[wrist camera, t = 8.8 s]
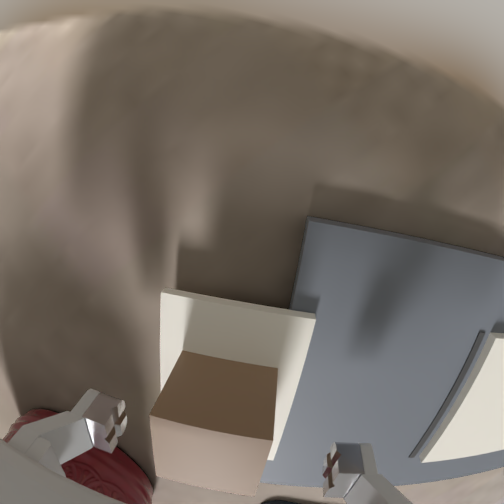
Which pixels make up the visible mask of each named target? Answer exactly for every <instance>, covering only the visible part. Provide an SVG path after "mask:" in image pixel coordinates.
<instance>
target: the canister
mask: <svg viewBox="0 0 504 504" xmlns="http://www.w3.org/2000/svg"><path fill="white" fill-rule="evenodd" d="M56 414H59V413H57V412H53V411H50V410H45V409H32V410H30V411H28V412H27V413H26V414H25V415H23V416H21V417H19V418H18V419H17V420H16V421H15V423H13V424H12V425H11V427H10V429H9V432H8V433H7V435H6V436H5V437H4V438H3V439H2V440H3V441H5V442H6V443H8V442H9V441H10V440H11V439H12V437H13V436H14V435H15V434H16V433H17V432H18V430H19V429H20V428H21V427H22V426H23V425H26V424H29V423H32V422H35V421H38V420H41V419H44V418H47V417H50V416H53V415H56ZM61 467H62V469H63V471H64V473H65V475H66V478H68V479H70V480H72V481H74V482H76V483H78V484H81V485H83V486H85V487H87V488H89V489H92V490H94V491H96V492H98V493H101V494H103V495H106V496H108V497H111V498H113V499H116V500H118V501H121V502H123V503H126V504H152V495H153V488H152V485H151V482H150V481H149V479H148V477H147V476H146V474H145V473H144V472H143V471H142V470H141V468H140V467H139V466H138V465H137V464H136V463H135V462H134V461H133V460H132V459H131V458H130V457H128V456H127V455H126V454H125V453H124V452H123V451H121V450H120V449H119V448H118V447H116V446H115V448H114V450H113V452H112V453H109V452H106V451H104V450H101V449H98V448H96V447H93V448H91V449H89V450H87V451H86V452H84V453H82V454H80V455H78V456H76V457H74V458H73V459H71V460H69V461H67V462H65V463H63V464H61Z"/></svg>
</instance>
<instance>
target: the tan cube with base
mask: <svg viewBox="0 0 504 504" xmlns="http://www.w3.org/2000/svg"><path fill="white" fill-rule="evenodd" d="M315 322H316V316H315V314H314V313H308V312H301V311H295V310H288V309H282V308H276V307H270V306H264V305H258V304H252V303H246V302H240V301H235V300H229V299H224V298H218V297H213V296H208V295H202V294H197V293H192V292H187V291H182V290H177V289H172V288H167V287H165V288H164V289H163V290H162V291H161V303H160V383H161V393H160V395H159V397H158V399H157V401H156V403H155V405H154V407H153V408H152V410H151V412H150V414H149V418H150V429H151V438H152V447H153V456H154V464H155V471H156V476H158V477H162V478H165V479H169V480H173V481H176V482H180V483H184V484H188V485H193V486H197V487H202V488H206V489H211V490H216V491H222V492H227V493H233V494H239V495H246V496H253V497H255V494H256V491H257V488H258V485H259V482H260V479H261V476H262V474H263V471H264V468H265V465H266V462H267V460H272V461H273V460H274V457H275V454H276V452H277V449H278V446H279V443H280V440H281V437H282V434H283V431H284V428H285V425H286V422H287V419H288V416H289V412H290V409H291V406H292V403H293V400H294V396H295V393H296V390H297V386H298V383H299V380H300V376H301V373H302V369H303V366H304V362H305V359H306V355H307V352H308V348H309V345H310V341H311V337H312V333H313V330H314V326H315Z"/></svg>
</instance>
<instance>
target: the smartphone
mask: <svg viewBox="0 0 504 504" xmlns="http://www.w3.org/2000/svg"><path fill="white" fill-rule="evenodd" d="M262 504H299V503H293V502H288V501H282V500H272V501H267V502H264V503H262Z"/></svg>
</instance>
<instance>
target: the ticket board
mask: <svg viewBox="0 0 504 504" xmlns="http://www.w3.org/2000/svg"><path fill="white" fill-rule="evenodd" d="M289 310H295V311H301V312H308V313H314V314H315V316H316V322H315V326H314V330H313V333H312V337H311V341H310V345H309V348H308V352H307V355H306V359H305V362H304V366H303V369H302V373H301V376H300V380H299V383H298V386H297V390H296V393H295V396H294V400H293V403H292V406H291V409H290V412H289V416H288V419H287V422H286V425H285V428H284V431H283V434H282V437H281V440H280V443H279V446H278V449H277V452H276V454H275V457H274V460H273V461H272V460H267V462H266V465H265V468H264V471H263V474H262V476H261V479H260V482H262V483H270V484H279V485H290V486H304V487H323V483H324V481H325V480H326V479H325V478H324V476H323V475H322V468H323V462H324V459H325V457H326V455H327V454H328V453H330V447H331V445H332V443H334V442H345V443H370V444H371V445H372V448H373V452H374V457H375V462H376V467H377V471H378V474H382V475H383V476H384V477H385V478H386V479H387V480H388V481H389V482H390V483H391V484H392V485H393V486H399V485H409V484H418V483H426V482H434V481H440V480H446V479H452V478H457V477H463V476H468V475H472V474H477V473H481V472H485V471H489V470H493V469H497V468H501V467H504V257H501V256H497V255H493V254H489V253H485V252H480V251H476V250H472V249H468V248H463V247H459V246H455V245H450V244H446V243H441V242H437V241H432V240H428V239H423V238H419V237H414V236H409V235H404V234H400V233H395V232H390V231H385V230H380V229H375V228H370V227H365V226H359V225H354V224H349V223H344V222H338V221H333V220H327V219H322V218H316V217H310V216H307V220H306V225H305V231H304V236H303V241H302V247H301V252H300V257H299V262H298V267H297V272H296V277H295V282H294V287H293V292H292V297H291V302H290V306H289Z"/></svg>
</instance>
